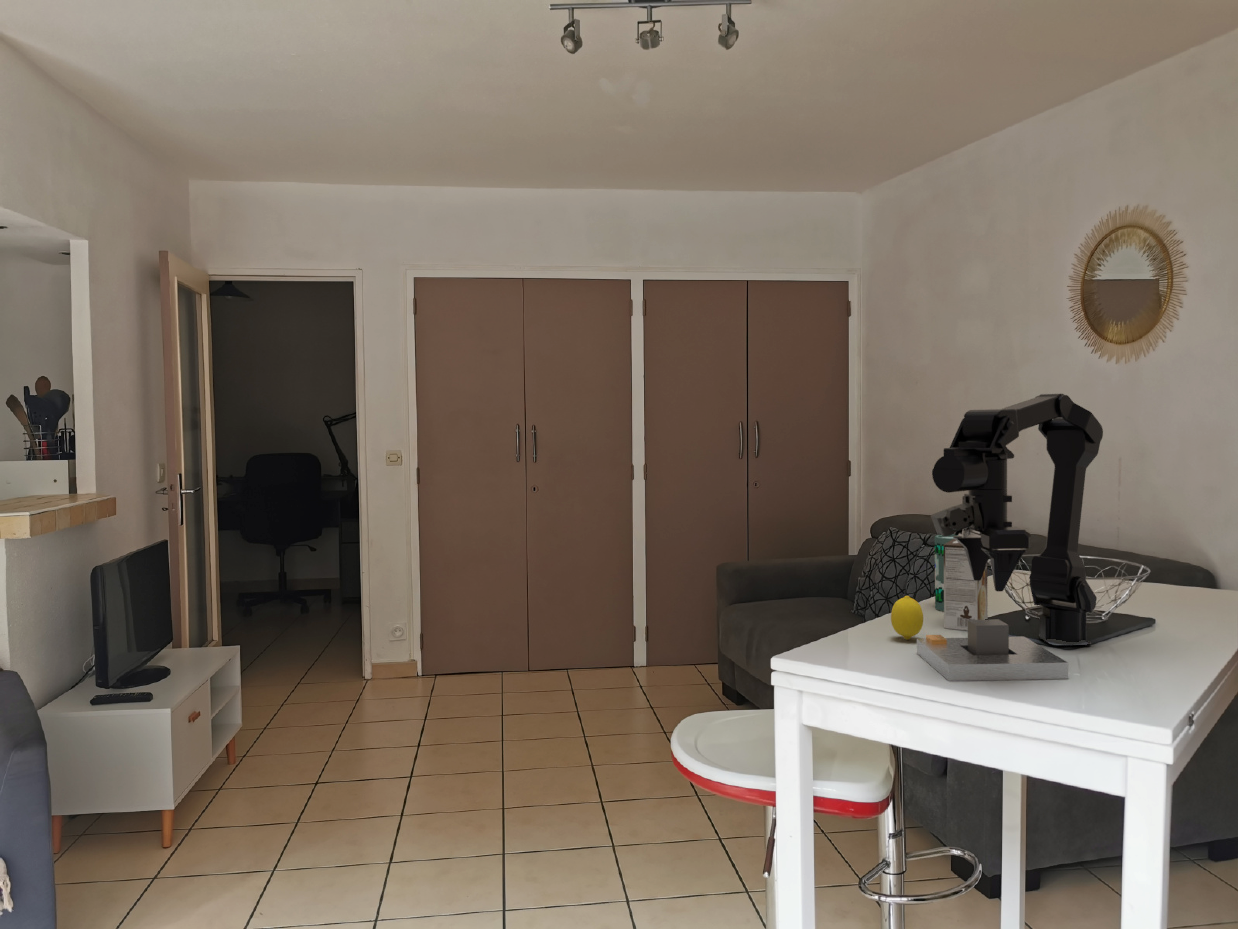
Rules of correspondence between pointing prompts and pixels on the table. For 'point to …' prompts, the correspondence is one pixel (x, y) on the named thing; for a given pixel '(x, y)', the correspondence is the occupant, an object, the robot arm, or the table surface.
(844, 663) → the table surface
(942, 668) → the socket plate
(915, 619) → the lemon
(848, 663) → the table surface
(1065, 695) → the table surface
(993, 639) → the plug
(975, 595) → the coffee box
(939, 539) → the can
